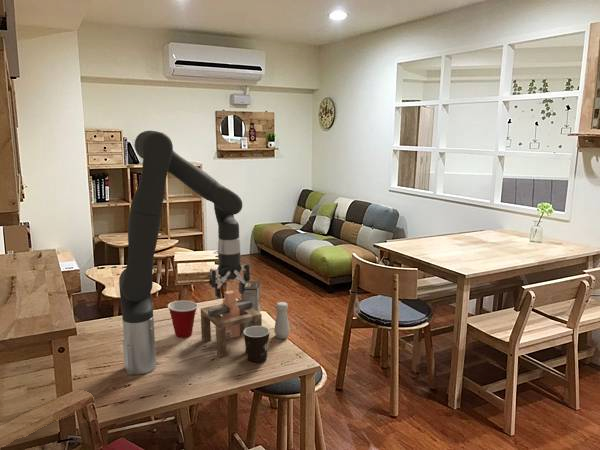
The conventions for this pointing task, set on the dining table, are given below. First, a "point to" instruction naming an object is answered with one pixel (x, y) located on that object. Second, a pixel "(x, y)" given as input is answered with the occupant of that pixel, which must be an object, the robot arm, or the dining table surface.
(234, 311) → the stepped pink block
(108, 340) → the dining table surface
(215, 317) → the square wooden frame
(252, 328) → the coffee mug
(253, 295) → the coffee box
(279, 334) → the salt shaker
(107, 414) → the dining table surface
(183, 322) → the plastic cup
